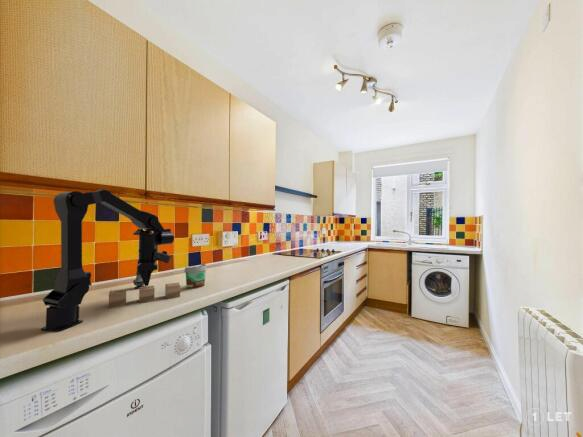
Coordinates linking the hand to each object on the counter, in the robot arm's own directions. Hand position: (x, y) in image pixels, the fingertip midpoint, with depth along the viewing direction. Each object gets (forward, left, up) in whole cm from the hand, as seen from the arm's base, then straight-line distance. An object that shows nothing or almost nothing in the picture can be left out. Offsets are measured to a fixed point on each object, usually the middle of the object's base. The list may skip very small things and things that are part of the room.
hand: (146, 285), depth 93 cm
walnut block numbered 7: (-6, +7, -6) cm, 11 cm away
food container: (+22, -10, -6) cm, 25 cm away
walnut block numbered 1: (+6, -7, -6) cm, 11 cm away
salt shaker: (+17, +17, -6) cm, 25 cm away
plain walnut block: (0, 0, -6) cm, 6 cm away
